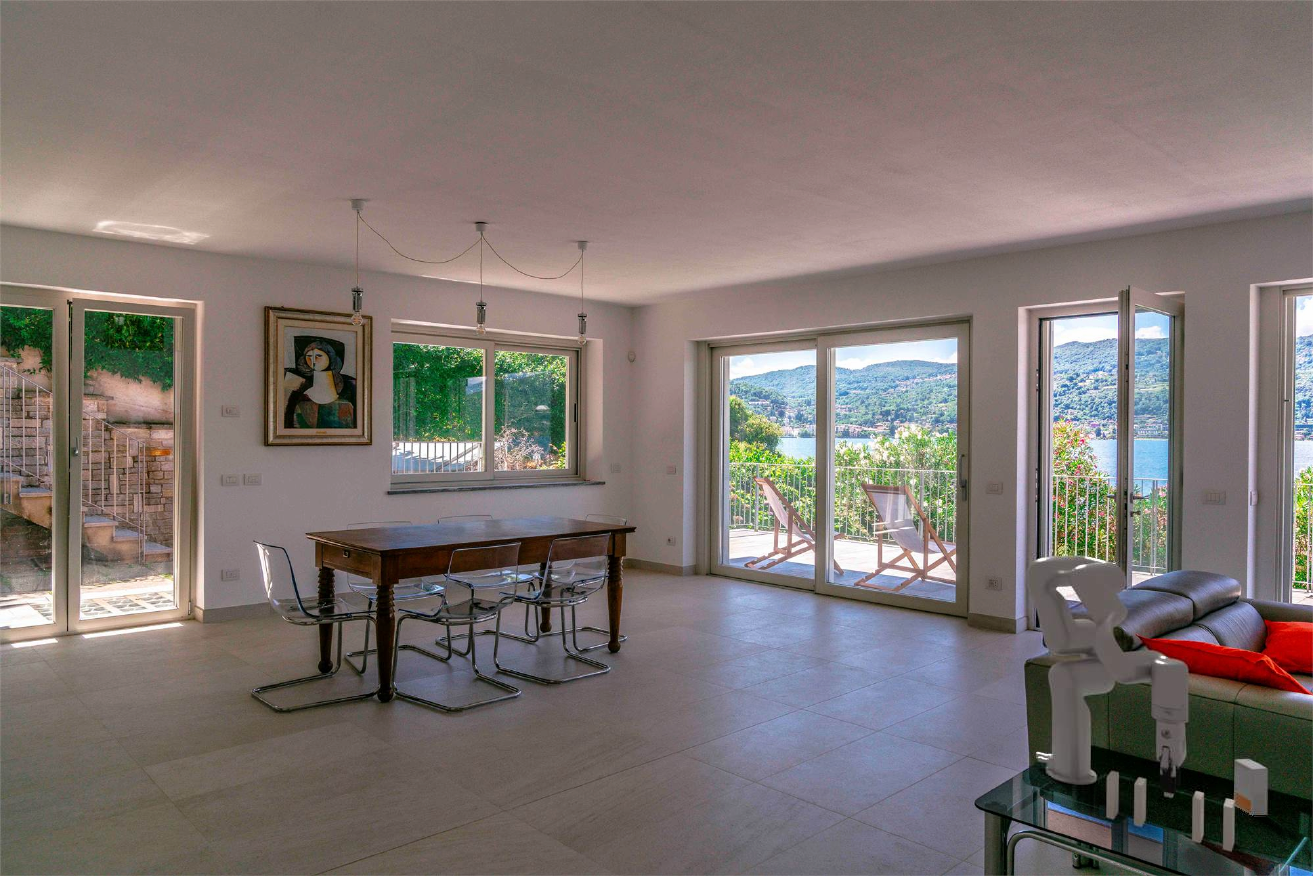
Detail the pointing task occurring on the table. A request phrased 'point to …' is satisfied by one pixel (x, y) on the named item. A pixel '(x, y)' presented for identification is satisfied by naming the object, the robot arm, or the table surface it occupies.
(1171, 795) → the domino
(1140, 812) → the domino
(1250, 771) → the skincare box
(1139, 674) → the robot arm
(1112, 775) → the domino
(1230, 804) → the domino
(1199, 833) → the domino
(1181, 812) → the table surface
